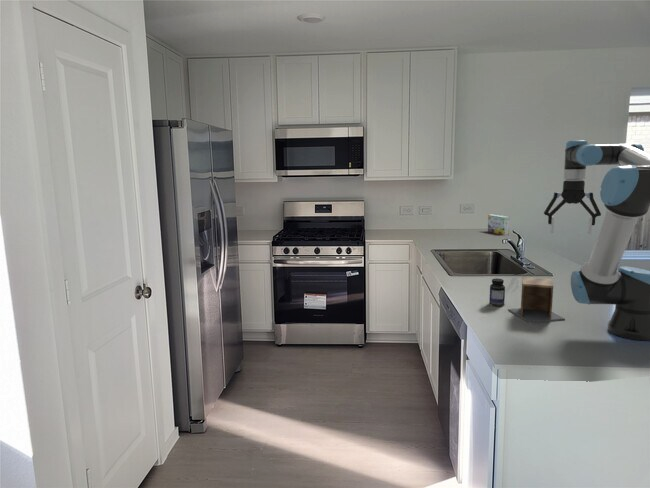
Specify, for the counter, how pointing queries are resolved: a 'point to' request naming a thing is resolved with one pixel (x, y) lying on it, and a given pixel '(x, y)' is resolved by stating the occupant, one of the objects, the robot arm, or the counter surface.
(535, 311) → the mat
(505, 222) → the snack box
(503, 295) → the pill bottle
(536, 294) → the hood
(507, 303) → the counter surface
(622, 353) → the counter surface
